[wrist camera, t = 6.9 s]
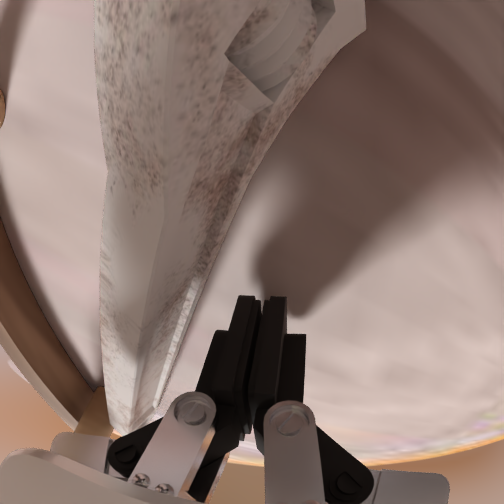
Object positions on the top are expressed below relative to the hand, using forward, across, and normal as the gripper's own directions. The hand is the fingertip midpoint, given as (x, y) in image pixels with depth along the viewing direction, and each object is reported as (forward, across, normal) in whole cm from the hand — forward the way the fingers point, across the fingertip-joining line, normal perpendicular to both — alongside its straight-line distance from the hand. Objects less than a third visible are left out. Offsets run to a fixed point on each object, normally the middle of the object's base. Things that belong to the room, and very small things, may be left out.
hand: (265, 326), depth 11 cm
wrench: (+1, +2, -2) cm, 3 cm away
